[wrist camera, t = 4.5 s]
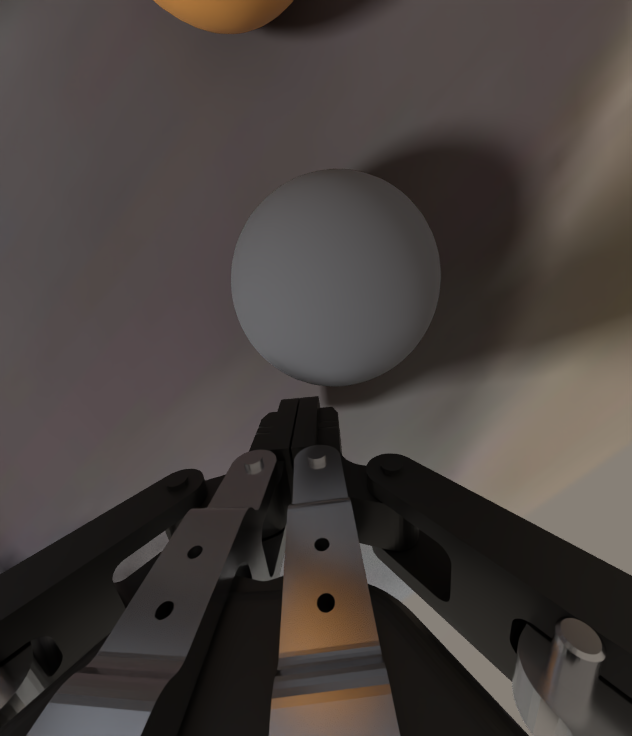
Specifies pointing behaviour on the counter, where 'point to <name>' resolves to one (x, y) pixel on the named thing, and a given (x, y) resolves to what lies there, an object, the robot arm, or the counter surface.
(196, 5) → the object ball
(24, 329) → the counter surface
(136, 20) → the counter surface
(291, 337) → the cue ball
